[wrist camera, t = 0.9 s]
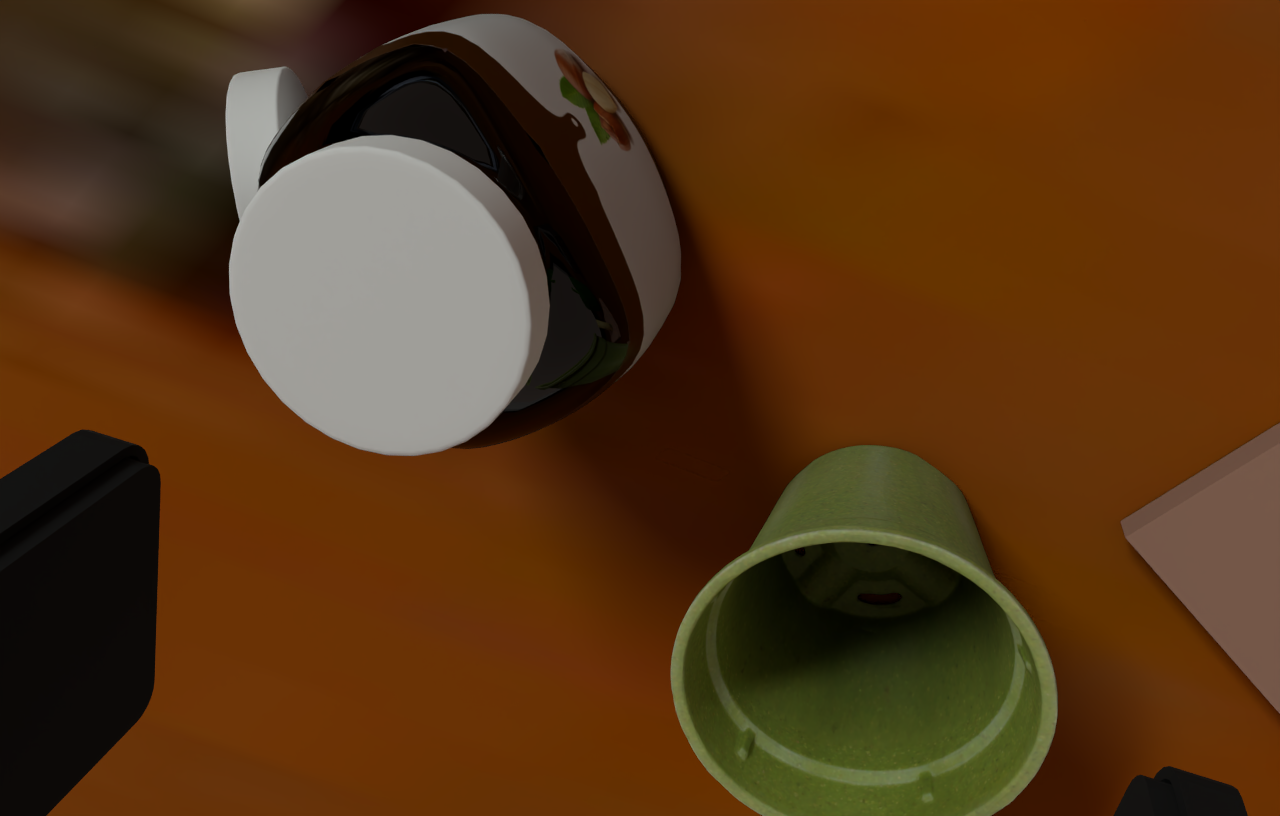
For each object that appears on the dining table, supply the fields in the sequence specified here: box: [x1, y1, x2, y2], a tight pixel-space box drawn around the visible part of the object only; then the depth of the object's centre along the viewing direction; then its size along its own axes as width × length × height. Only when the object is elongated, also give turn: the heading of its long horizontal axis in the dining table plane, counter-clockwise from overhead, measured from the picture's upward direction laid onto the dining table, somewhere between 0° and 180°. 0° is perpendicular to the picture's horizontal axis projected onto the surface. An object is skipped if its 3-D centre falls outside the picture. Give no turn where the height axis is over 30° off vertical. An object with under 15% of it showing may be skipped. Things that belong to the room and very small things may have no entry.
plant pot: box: [671, 445, 1058, 816], centre depth 34 cm, size 9×9×9 cm
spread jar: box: [226, 14, 681, 456], centre depth 31 cm, size 12×11×12 cm
